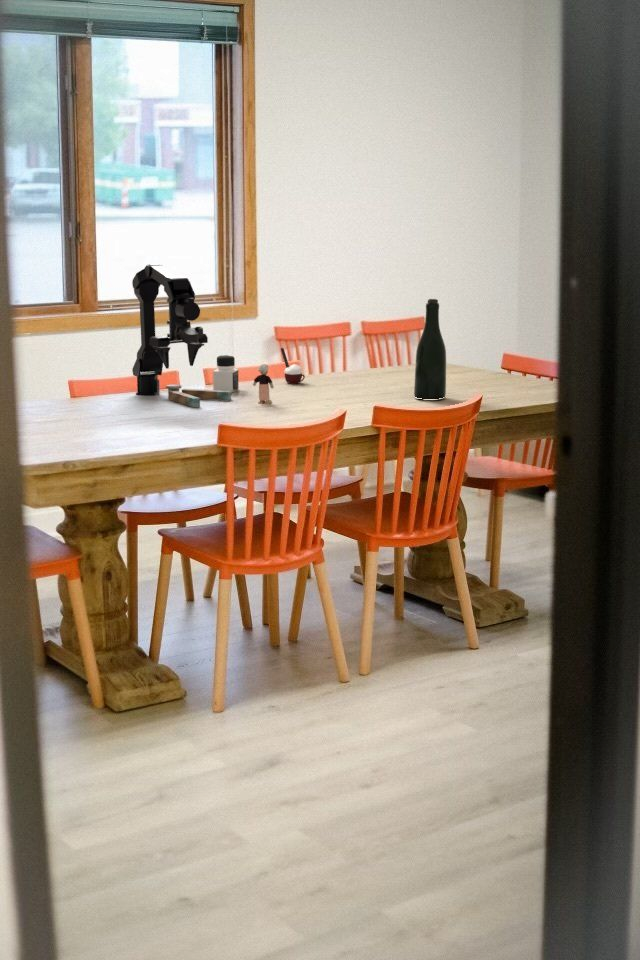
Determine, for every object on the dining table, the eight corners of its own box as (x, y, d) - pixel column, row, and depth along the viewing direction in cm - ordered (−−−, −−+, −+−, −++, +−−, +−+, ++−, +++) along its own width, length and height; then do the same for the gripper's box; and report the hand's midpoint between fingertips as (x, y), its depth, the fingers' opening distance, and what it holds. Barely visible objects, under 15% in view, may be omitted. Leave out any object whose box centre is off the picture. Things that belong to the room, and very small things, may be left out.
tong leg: (169, 399, 401) (169, 391, 400) (175, 398, 402) (175, 390, 401) (193, 407, 387) (193, 398, 387) (200, 406, 389) (199, 397, 388)
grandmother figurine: (276, 402, 397) (276, 363, 394) (272, 404, 394) (272, 365, 391) (254, 401, 400) (254, 362, 397) (250, 403, 396) (250, 364, 393)
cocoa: (306, 385, 434) (309, 351, 431) (292, 386, 430) (294, 352, 428) (291, 380, 441) (293, 347, 438) (277, 381, 438) (279, 348, 435)
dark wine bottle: (451, 398, 407) (455, 299, 399) (432, 402, 399) (435, 301, 392) (427, 394, 414) (430, 296, 406) (407, 398, 406) (410, 298, 398)
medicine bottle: (233, 392, 415) (232, 357, 412) (213, 391, 416) (212, 356, 414) (238, 389, 422) (238, 354, 419) (218, 388, 423) (218, 354, 420)
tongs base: (163, 398, 403) (163, 386, 402) (170, 395, 408) (169, 384, 407) (225, 402, 397) (225, 390, 396) (231, 399, 402) (230, 387, 401)
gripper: (167, 321, 372) (169, 372, 375) (217, 317, 383) (218, 367, 387) (147, 318, 380) (149, 368, 383) (197, 315, 392) (197, 363, 395)
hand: (179, 367), depth 387 cm, fingers open, 9 cm apart
